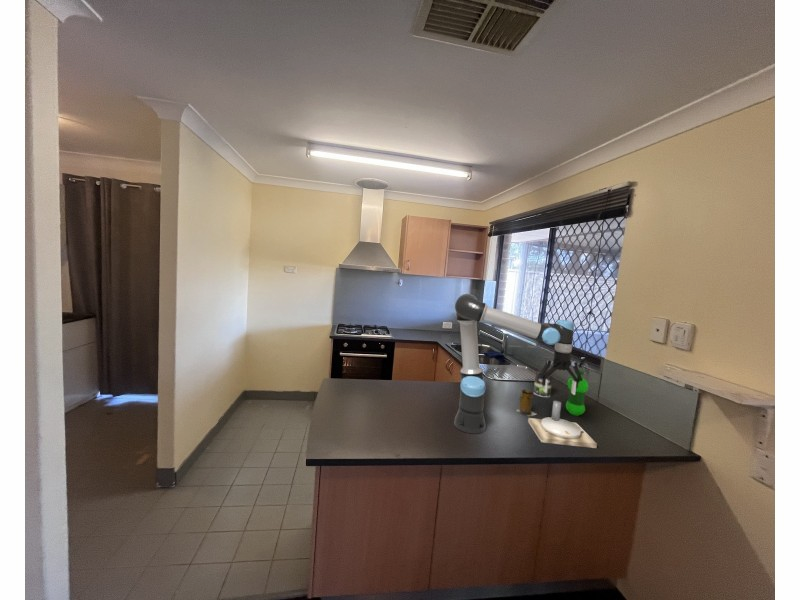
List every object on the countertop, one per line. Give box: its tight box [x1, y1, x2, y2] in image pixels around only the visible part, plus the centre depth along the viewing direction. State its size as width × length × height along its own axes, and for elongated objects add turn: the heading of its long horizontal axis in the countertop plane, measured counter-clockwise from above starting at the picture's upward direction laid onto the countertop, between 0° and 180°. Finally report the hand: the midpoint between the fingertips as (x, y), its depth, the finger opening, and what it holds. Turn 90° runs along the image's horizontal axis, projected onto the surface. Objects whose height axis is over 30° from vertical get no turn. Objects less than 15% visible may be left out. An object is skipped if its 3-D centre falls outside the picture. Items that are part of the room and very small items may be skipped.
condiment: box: [515, 389, 538, 417], centre depth 173 cm, size 7×8×12 cm
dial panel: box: [527, 417, 598, 449], centre depth 151 cm, size 24×20×2 cm
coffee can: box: [532, 370, 554, 398], centre depth 202 cm, size 10×10×14 cm
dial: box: [541, 400, 581, 439], centre depth 151 cm, size 17×17×11 cm
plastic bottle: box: [565, 369, 589, 417], centre depth 175 cm, size 10×10×25 cm
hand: (558, 392), depth 156 cm, fingers open, 13 cm apart
